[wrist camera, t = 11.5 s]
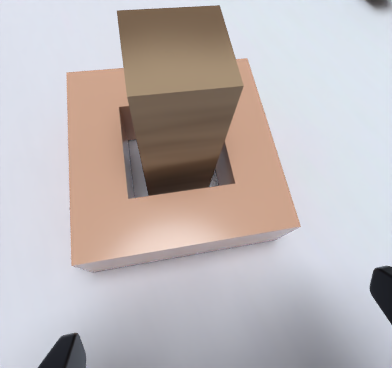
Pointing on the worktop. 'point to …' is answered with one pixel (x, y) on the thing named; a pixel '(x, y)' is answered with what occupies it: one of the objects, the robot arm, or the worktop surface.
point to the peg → (179, 92)
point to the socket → (170, 202)
